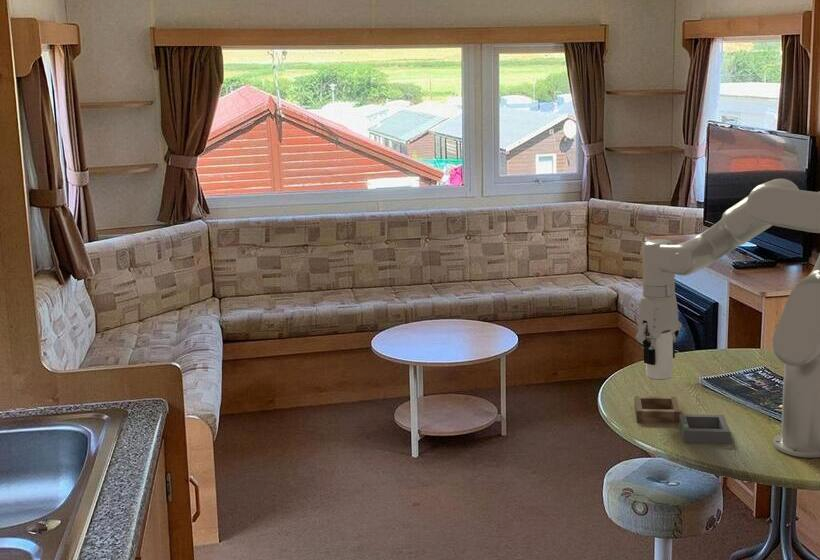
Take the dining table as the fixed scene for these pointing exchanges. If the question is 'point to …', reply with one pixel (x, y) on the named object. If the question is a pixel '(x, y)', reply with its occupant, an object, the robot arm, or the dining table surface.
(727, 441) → the gray square frame
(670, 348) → the can
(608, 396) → the dining table surface
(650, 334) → the robot arm
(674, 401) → the brown square frame
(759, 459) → the dining table surface
